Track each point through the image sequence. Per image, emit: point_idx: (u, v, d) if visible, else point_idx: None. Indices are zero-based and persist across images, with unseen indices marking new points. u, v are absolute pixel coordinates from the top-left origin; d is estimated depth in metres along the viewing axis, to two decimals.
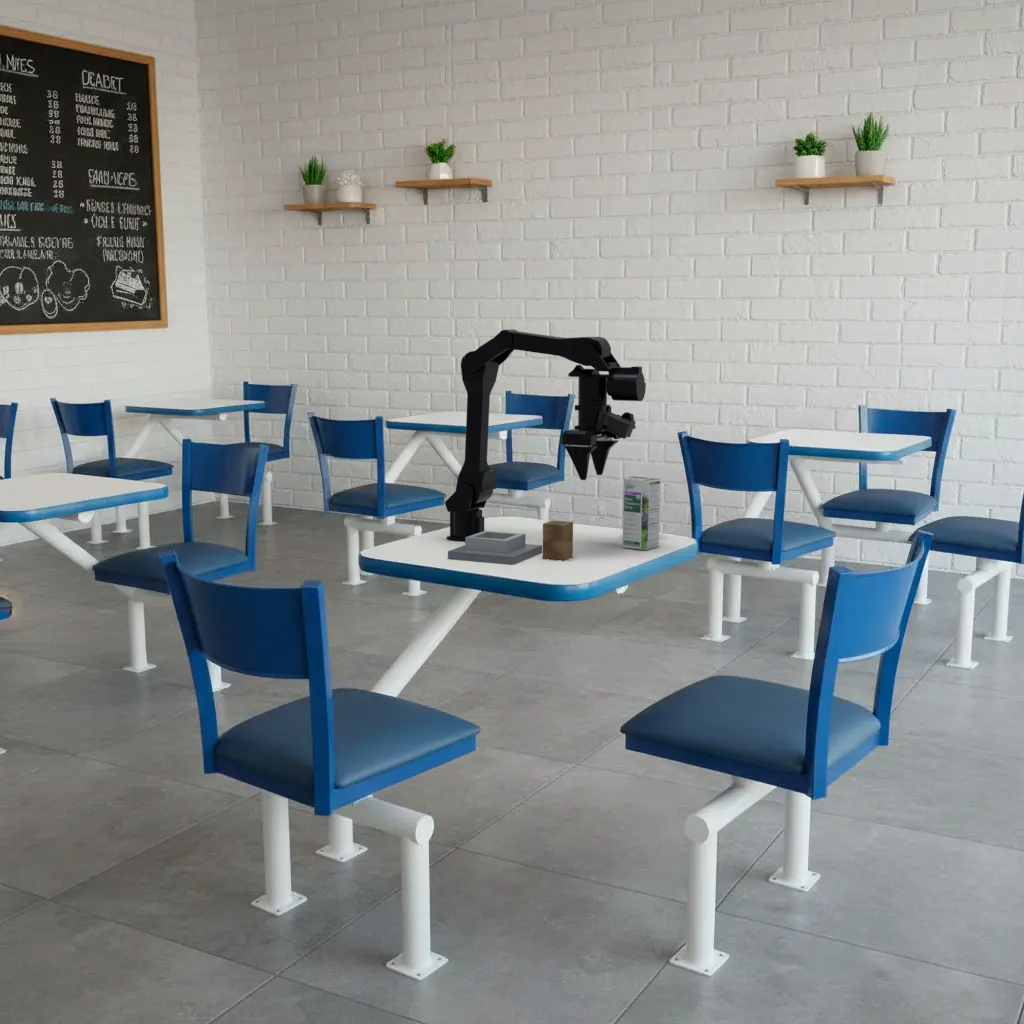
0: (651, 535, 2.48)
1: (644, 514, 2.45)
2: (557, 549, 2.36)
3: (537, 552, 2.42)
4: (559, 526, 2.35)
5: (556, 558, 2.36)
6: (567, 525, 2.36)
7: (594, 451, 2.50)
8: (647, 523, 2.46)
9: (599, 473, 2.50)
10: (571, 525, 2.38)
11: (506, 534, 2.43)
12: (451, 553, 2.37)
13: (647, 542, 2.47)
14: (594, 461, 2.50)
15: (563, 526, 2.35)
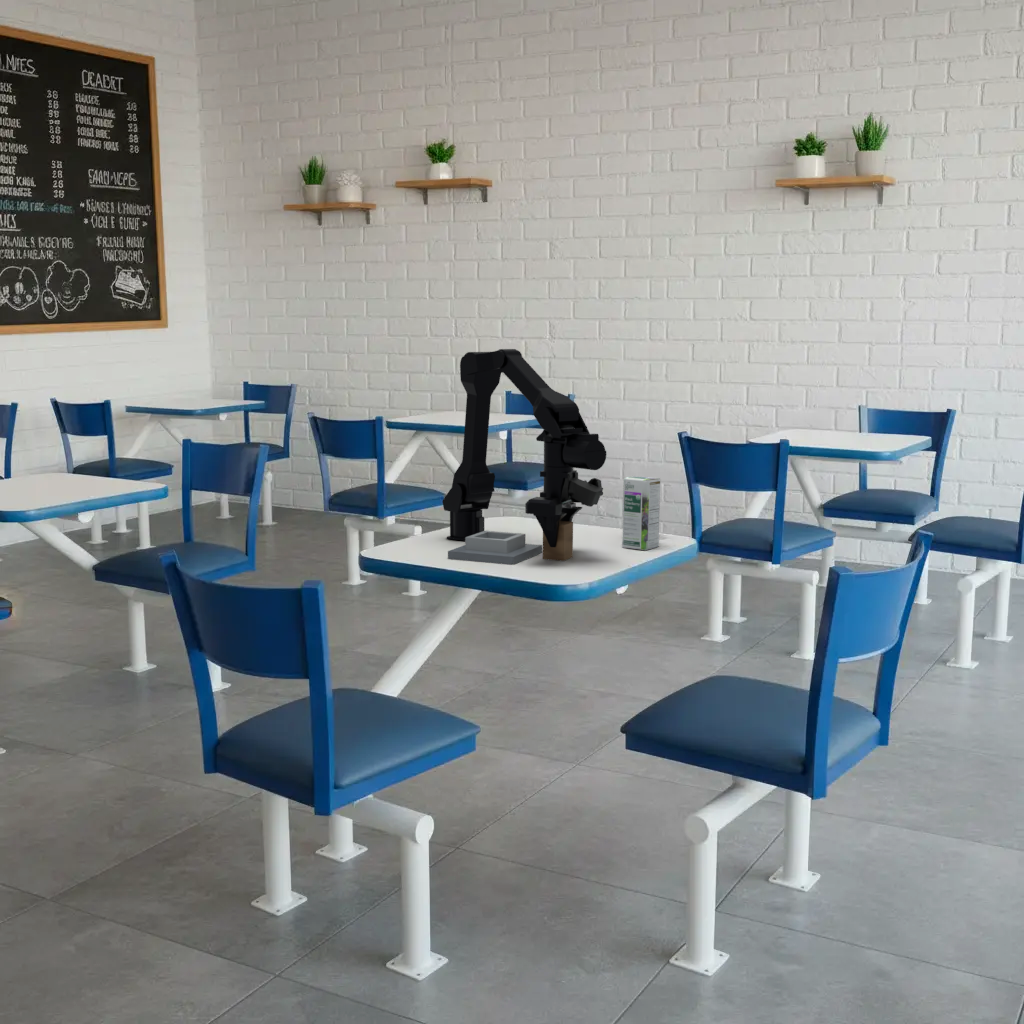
0: (651, 535, 2.48)
1: (644, 514, 2.45)
2: (557, 549, 2.36)
3: (537, 552, 2.42)
4: (559, 526, 2.35)
5: (556, 558, 2.36)
6: (567, 525, 2.36)
7: None
8: (647, 523, 2.46)
9: None
10: (571, 525, 2.38)
11: (506, 534, 2.43)
12: (451, 553, 2.37)
13: (647, 542, 2.47)
14: None
15: (563, 526, 2.35)
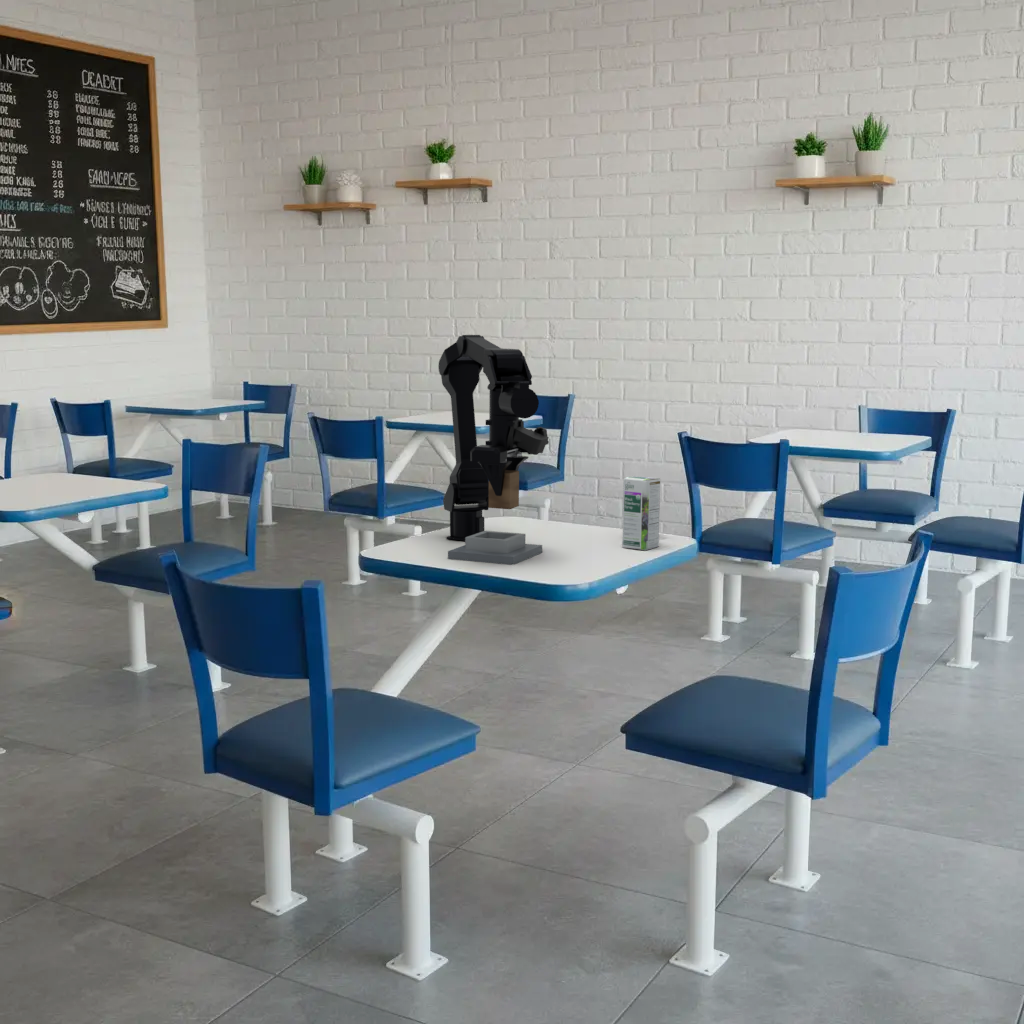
0: (651, 535, 2.48)
1: (644, 514, 2.45)
2: (503, 498, 2.36)
3: (537, 552, 2.42)
4: (505, 474, 2.36)
5: (502, 506, 2.37)
6: (513, 473, 2.37)
7: None
8: (647, 523, 2.46)
9: None
10: (517, 474, 2.38)
11: (506, 534, 2.43)
12: (451, 553, 2.37)
13: (647, 542, 2.47)
14: None
15: (509, 474, 2.35)
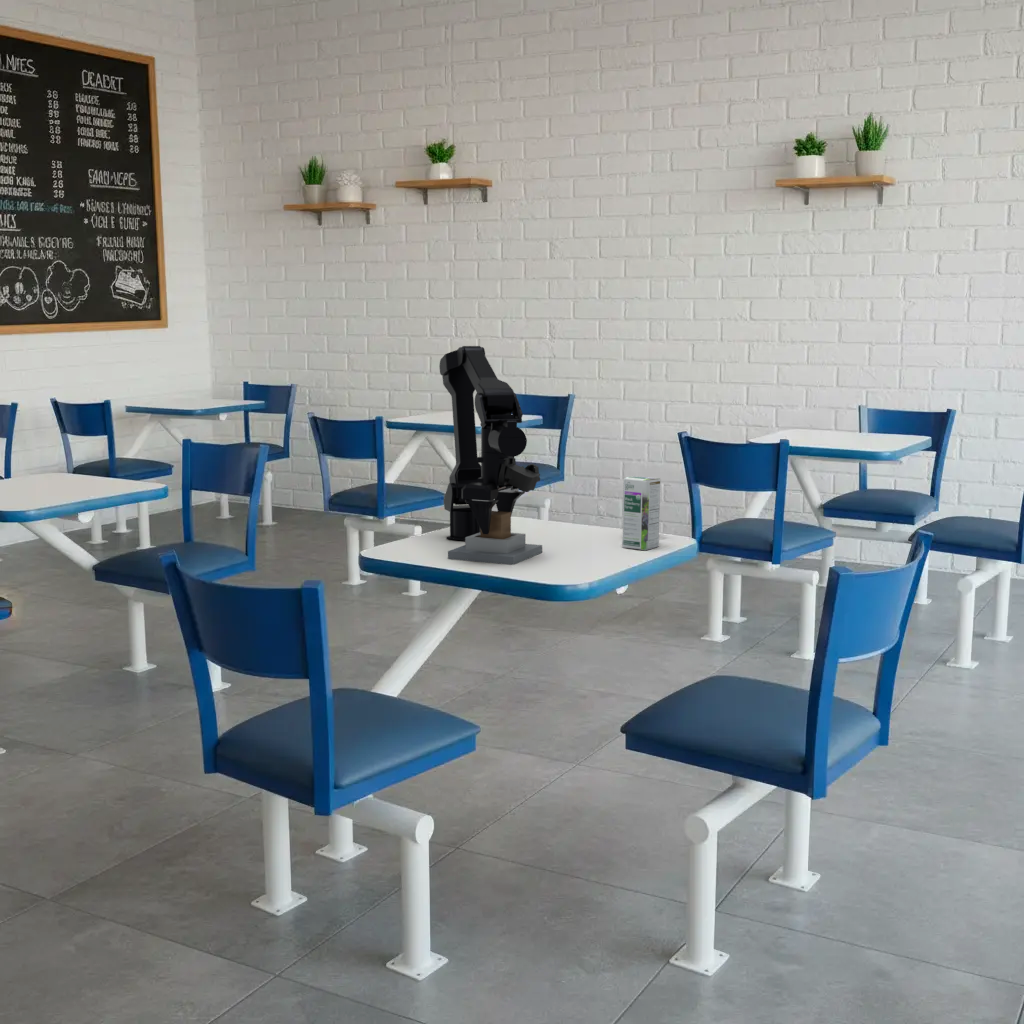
0: (651, 535, 2.48)
1: (644, 514, 2.45)
2: None
3: (537, 552, 2.42)
4: (496, 516, 2.37)
5: None
6: (504, 515, 2.38)
7: (500, 503, 2.44)
8: (647, 523, 2.46)
9: None
10: (508, 515, 2.40)
11: None
12: (451, 553, 2.37)
13: (647, 542, 2.47)
14: None
15: (500, 516, 2.37)
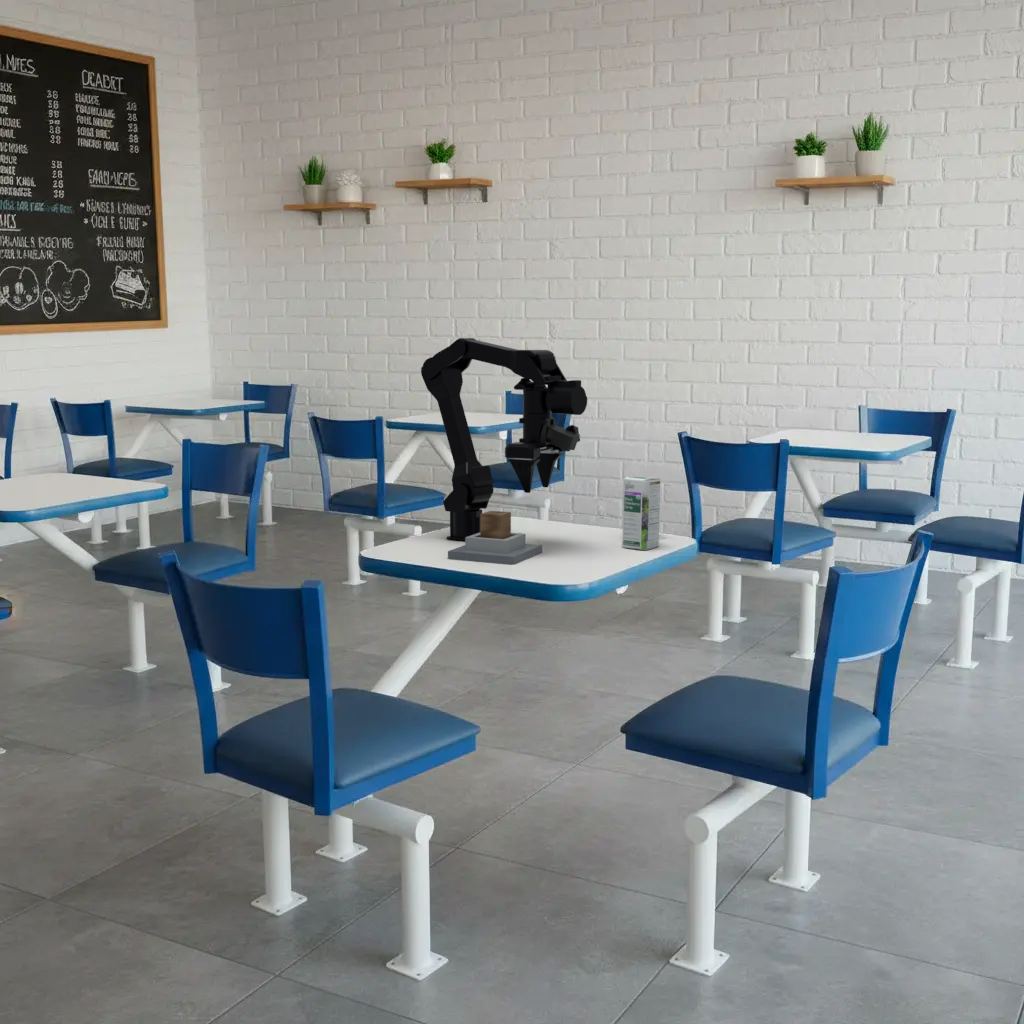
0: (651, 535, 2.48)
1: (644, 514, 2.45)
2: None
3: (537, 552, 2.42)
4: (496, 516, 2.37)
5: None
6: (504, 515, 2.38)
7: (540, 463, 2.51)
8: (647, 523, 2.46)
9: (545, 485, 2.51)
10: (508, 515, 2.40)
11: None
12: (451, 553, 2.37)
13: (647, 542, 2.47)
14: (540, 473, 2.51)
15: (500, 516, 2.37)
